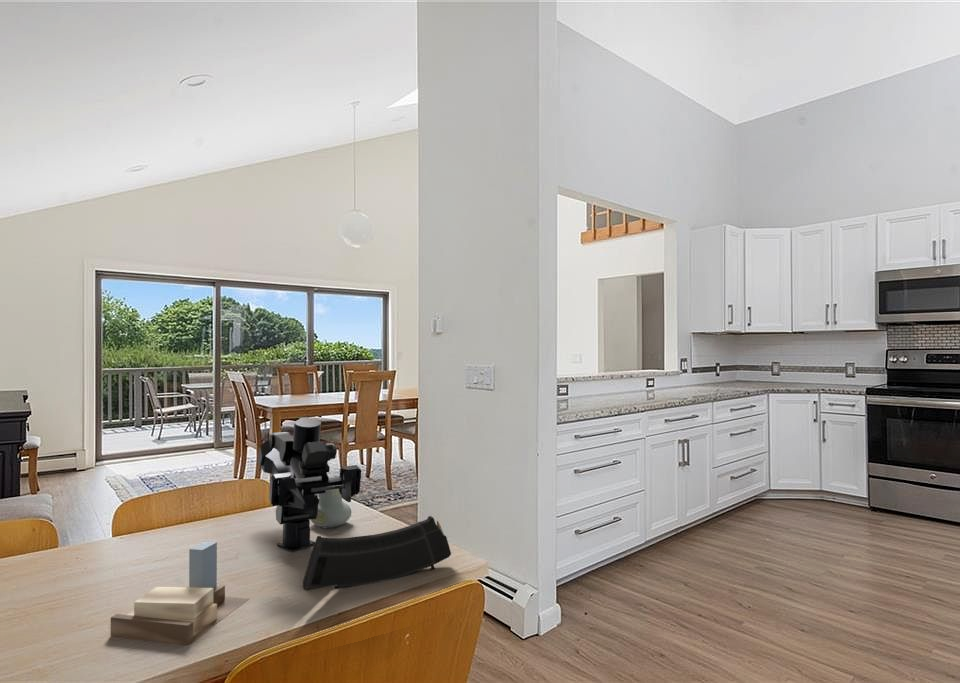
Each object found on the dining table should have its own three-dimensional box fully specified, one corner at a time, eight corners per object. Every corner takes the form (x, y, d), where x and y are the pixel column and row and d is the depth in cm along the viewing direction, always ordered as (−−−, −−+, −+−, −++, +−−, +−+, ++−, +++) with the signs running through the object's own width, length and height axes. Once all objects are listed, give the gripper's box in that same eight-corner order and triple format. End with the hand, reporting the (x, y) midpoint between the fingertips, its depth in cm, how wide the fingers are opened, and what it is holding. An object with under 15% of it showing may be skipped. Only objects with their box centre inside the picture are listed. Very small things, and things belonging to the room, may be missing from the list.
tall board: (203, 598, 106) (204, 541, 106) (216, 599, 105) (216, 542, 105) (189, 608, 102) (189, 548, 102) (202, 609, 101) (202, 549, 101)
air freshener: (356, 524, 153) (356, 486, 153) (333, 532, 146) (333, 493, 146) (327, 517, 159) (327, 481, 159) (303, 525, 152) (304, 487, 152)
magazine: (292, 551, 108) (433, 487, 121) (289, 545, 111) (427, 484, 124) (318, 632, 110) (454, 561, 123) (315, 625, 113) (448, 556, 126)
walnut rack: (182, 597, 108) (182, 576, 108) (249, 604, 105) (249, 582, 105) (110, 642, 92) (110, 617, 92) (187, 651, 89) (188, 625, 89)
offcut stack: (156, 611, 100) (157, 582, 100) (218, 617, 98) (218, 588, 98) (123, 632, 93) (123, 601, 93) (188, 639, 91) (189, 607, 91)
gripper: (265, 439, 121) (282, 471, 108) (351, 432, 131) (375, 461, 118) (263, 488, 123) (278, 524, 110) (347, 477, 133) (370, 510, 120)
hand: (327, 503), depth 115 cm, fingers open, 9 cm apart
